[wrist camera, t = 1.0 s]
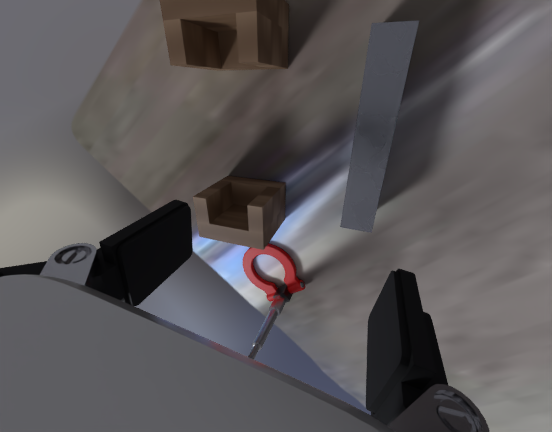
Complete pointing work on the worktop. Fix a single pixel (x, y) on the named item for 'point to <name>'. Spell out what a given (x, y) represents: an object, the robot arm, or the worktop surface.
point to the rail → (377, 119)
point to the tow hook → (271, 288)
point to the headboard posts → (232, 56)
